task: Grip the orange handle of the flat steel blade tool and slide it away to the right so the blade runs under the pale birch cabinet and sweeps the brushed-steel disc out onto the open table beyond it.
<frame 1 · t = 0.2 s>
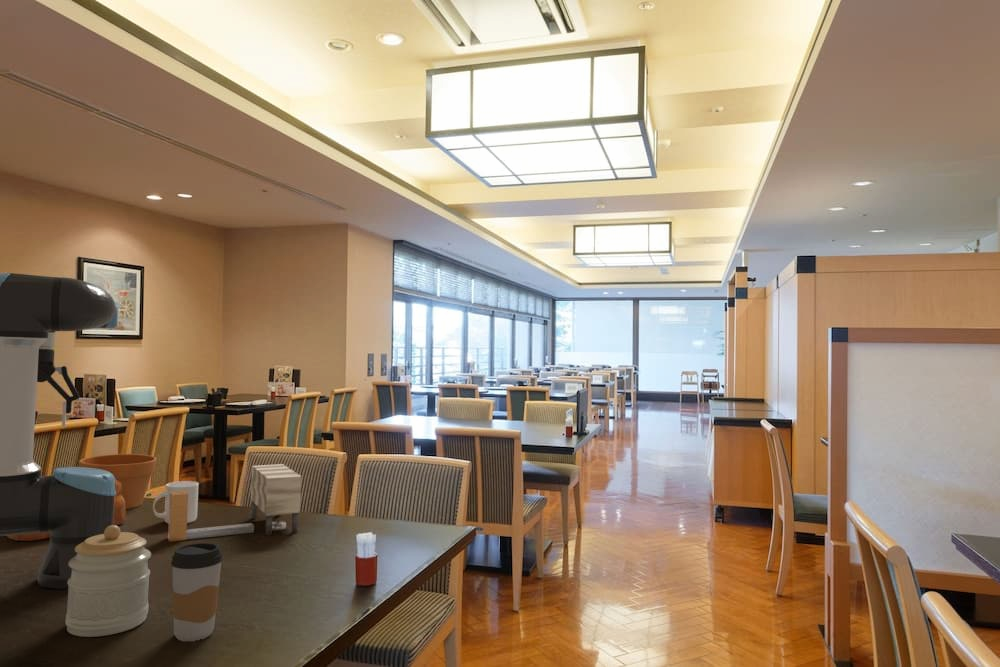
hand: (33, 426, 178), 28 cm above the table, fingers open, 13 cm apart
blade tool: (219, 534, 178), on the table
jar: (107, 624, 119), on the table
cabinet: (273, 524, 190), on the table
mug: (174, 522, 190), on the table
bread: (67, 530, 179), on the table
flower pot: (116, 506, 206), on the table
token: (276, 529, 186), on the table
coffee cup: (193, 635, 116), on the table
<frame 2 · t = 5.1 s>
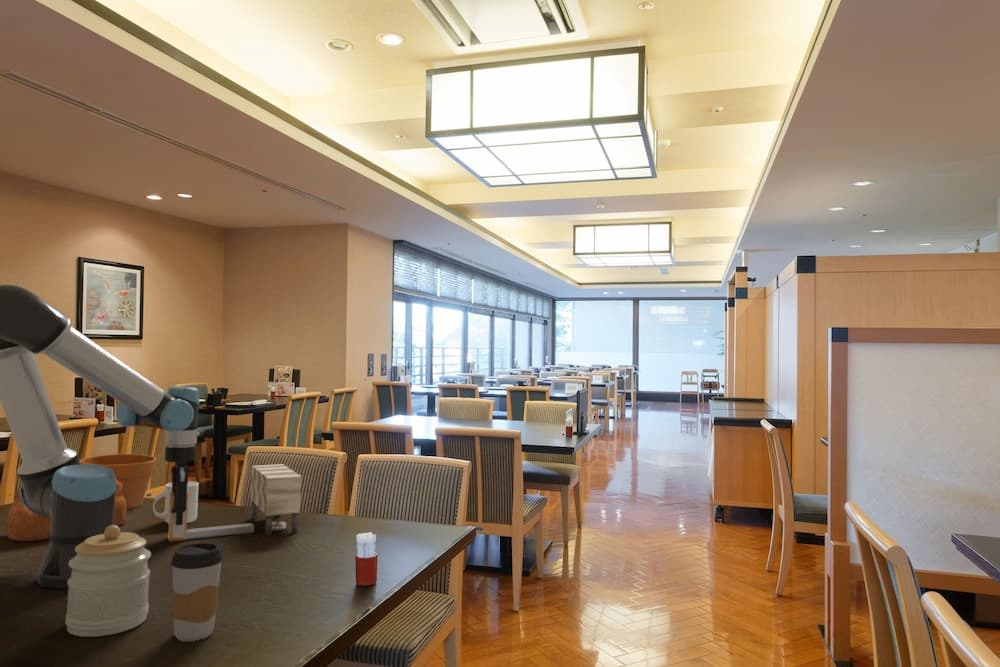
hand: (177, 534, 173), 1 cm above the table, fingers closed on blade tool, 4 cm apart
blade tool: (219, 534, 178), on the table, touching gripper
everything else where it was.
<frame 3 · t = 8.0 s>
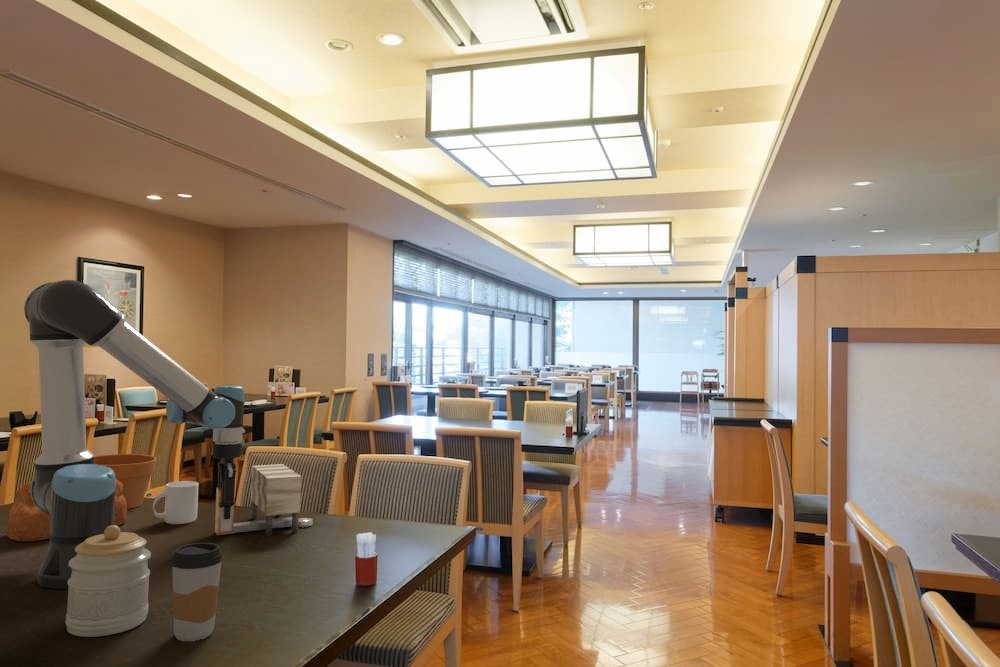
hand: (224, 528, 179), 1 cm above the table, fingers closed on blade tool, 4 cm apart
blade tool: (264, 527, 184), on the table, touching gripper, token
token: (303, 525, 190), on the table, touching blade tool
everything else where it was.
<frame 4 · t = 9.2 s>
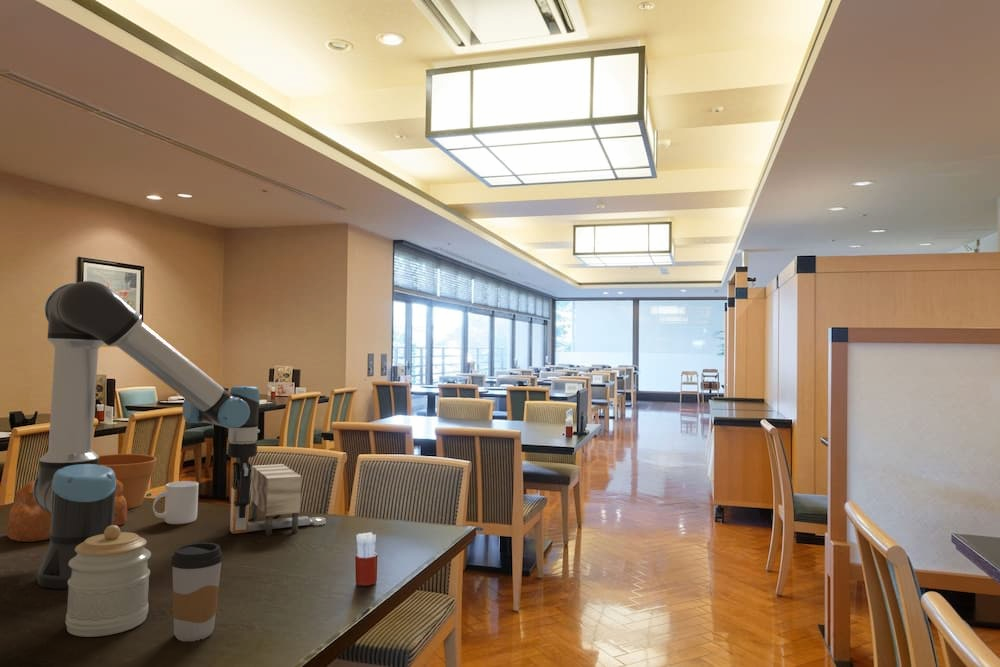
hand: (239, 527, 181), 1 cm above the table, fingers closed on blade tool, 4 cm apart
blade tool: (278, 526, 186), on the table, touching gripper
token: (316, 524, 192), on the table
everything else where it was.
when the fingers open (1 cm above the table, at t = 10.4 s): blade tool stays where it is, on the table.
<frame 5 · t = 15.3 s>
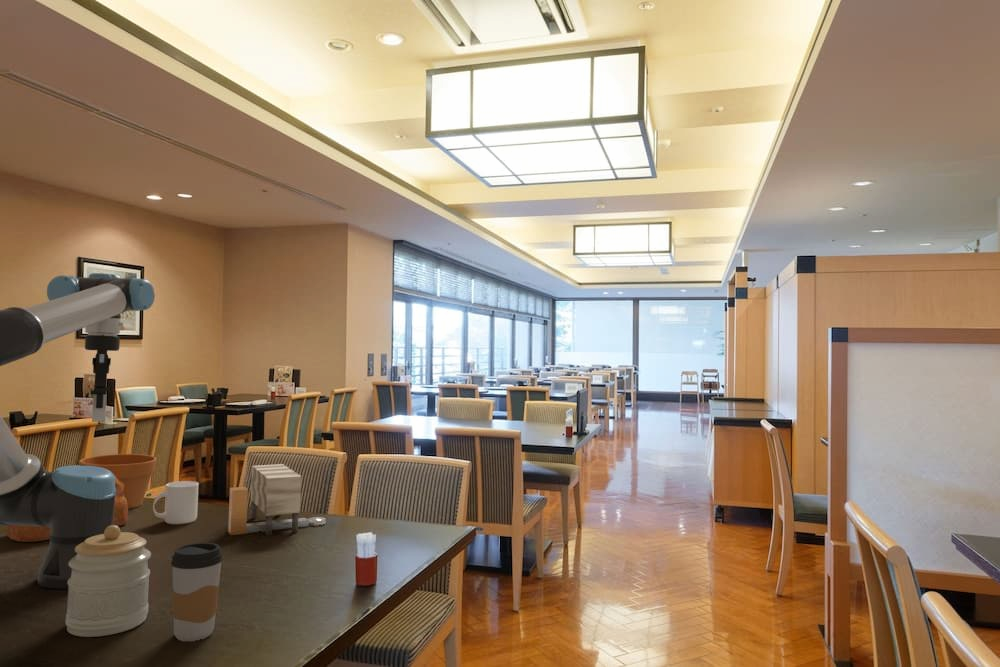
hand: (98, 419, 166), 32 cm above the table, fingers open, 13 cm apart
blade tool: (276, 528, 186), on the table
at the end: token inside the target area (4.9 cm from its centre), on the table; token touching table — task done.
